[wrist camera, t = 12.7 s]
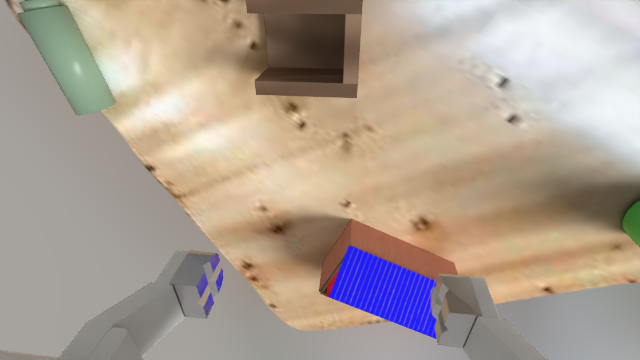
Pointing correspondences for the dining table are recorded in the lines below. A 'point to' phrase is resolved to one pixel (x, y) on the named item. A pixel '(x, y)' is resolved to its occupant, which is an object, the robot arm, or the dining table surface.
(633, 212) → the bottle
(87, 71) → the slim bottle
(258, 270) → the dining table surface
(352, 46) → the u rest
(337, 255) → the brown and blue block
